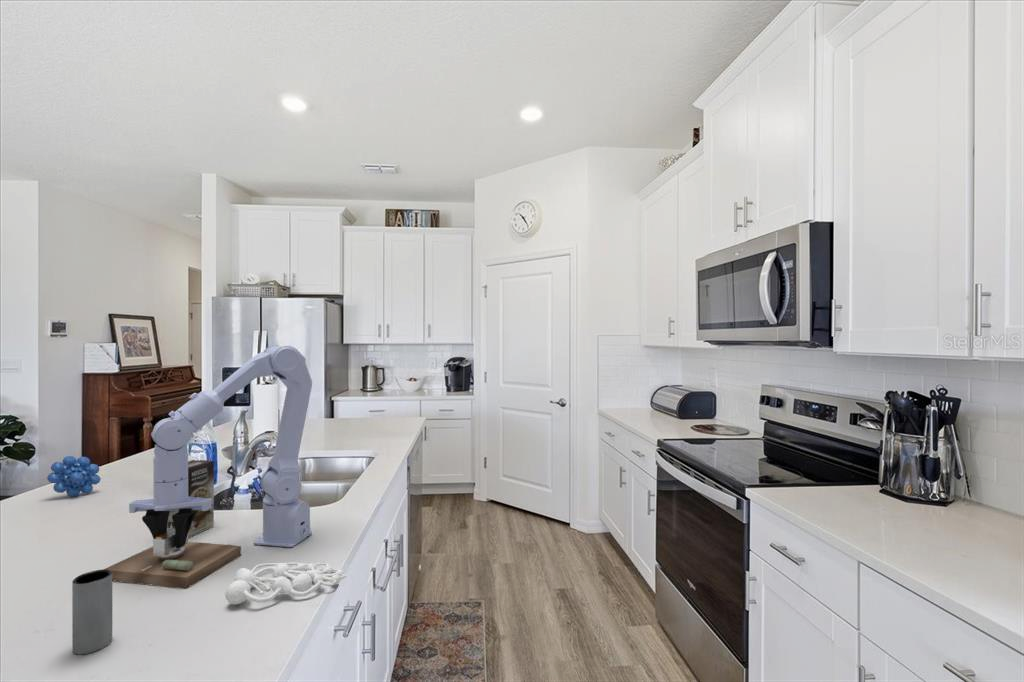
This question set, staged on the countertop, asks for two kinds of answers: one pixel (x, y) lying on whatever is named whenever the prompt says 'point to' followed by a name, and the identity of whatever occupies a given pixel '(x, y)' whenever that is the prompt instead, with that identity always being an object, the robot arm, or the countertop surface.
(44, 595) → the countertop surface
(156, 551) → the knob
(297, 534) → the robot arm
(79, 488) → the blue ball cluster
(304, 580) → the tangled rod sculpture
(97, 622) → the planter
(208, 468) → the coffee box
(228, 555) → the base
